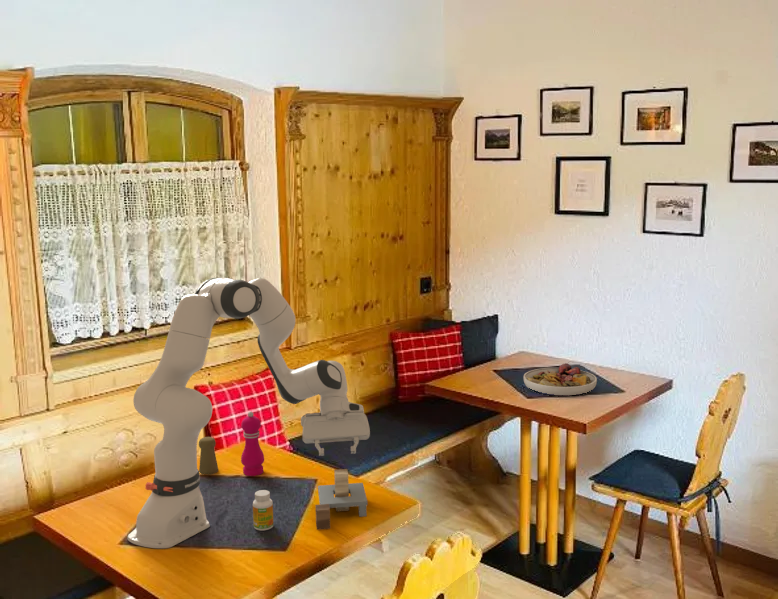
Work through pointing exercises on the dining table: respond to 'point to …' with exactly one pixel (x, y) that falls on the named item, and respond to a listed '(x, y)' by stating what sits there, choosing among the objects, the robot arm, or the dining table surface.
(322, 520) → the walnut peg
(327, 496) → the collar stand
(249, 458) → the pepper mill
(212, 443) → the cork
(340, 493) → the maple peg
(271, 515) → the supplement bottle
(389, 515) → the dining table surface
